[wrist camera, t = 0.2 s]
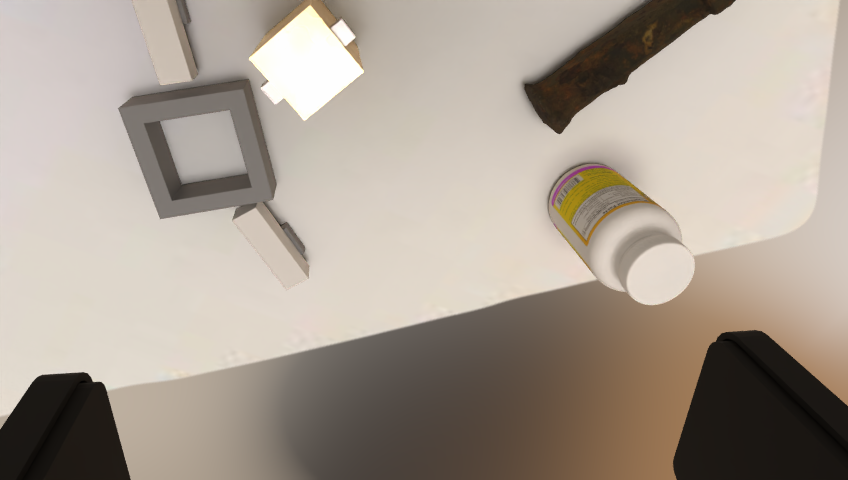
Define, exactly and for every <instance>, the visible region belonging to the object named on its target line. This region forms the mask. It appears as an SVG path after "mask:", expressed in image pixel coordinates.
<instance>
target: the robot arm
mask: <svg viewBox="0 0 848 480" xmlns="http://www.w3.org/2000/svg"><path fill="white" fill-rule="evenodd" d="M673 467H674V473H675V475H676V479H677V480H848V406H847V405H846V404H845V403H844V402H842V401H841V400H840V399H839V398H838V397H837V396H836V395H834V394H833V393H832V392H831V391H830V390H829V389H828V388H826V387H825V386H824V385H823V384H822V383H821V382H820V381H819V380H818V379H816V378H815V377H814V376H813V375H812V374H811V373H810V372H809V371H807V370H806V369H805V368H804V367H803V366H802V365H801V364H800V363H798V362H797V361H796V360H795V359H794V358H793V357H792V356H790V355H789V354H788V353H787V352H786V351H785V350H784V349H783V348H781V347H780V346H779V345H778V344H777V343H776V342H775V341H774V340H772V339H771V338H770V337H769V336H768V335H766V334H765V333H763V332H762V331H757V330H753V331H737V332H725V333H722V334H721V335H720V336H719V337H718V338H717V340H716V342H713V343H712V344H711V345H710V346H709V348H708V350H707V354H706V357H705V360H704V363H703V366H702V370H701V373H700V376H699V379H698V382H697V386H696V389H695V392H694V395H693V398H692V402H691V405H690V408H689V411H688V414H687V418H686V421H685V424H684V427H683V431H682V434H681V437H680V440H679V444H678V447H677V450H676V453H675V456H674V460H673ZM0 480H131V479H130V475H129V472H128V468H127V464H126V461H125V457H124V453H123V450H122V446H121V442H120V439H119V435H118V432H117V428H116V424H115V420H114V417H113V413H112V410H111V406H110V402H109V398H108V395H107V391H106V388H105V386H104V384H103V383H102V382H93V381H92V379H91V377H90V376H89V375H88V373H84V372H81V373H65V374H49V375H41V376H39V377H37V378H36V379H35V380H34V381H33V382H32V384H31V385H30V387H29V388H28V390H27V391H26V393H25V394H24V395H23V397H22V398H21V400H20V401H19V403H18V404H17V406H16V407H15V409H14V410H13V412H12V413H11V414H10V416H9V417H8V419H7V421H6V422H5V423H4V425H3V426H2V428H1V429H0Z"/></svg>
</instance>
